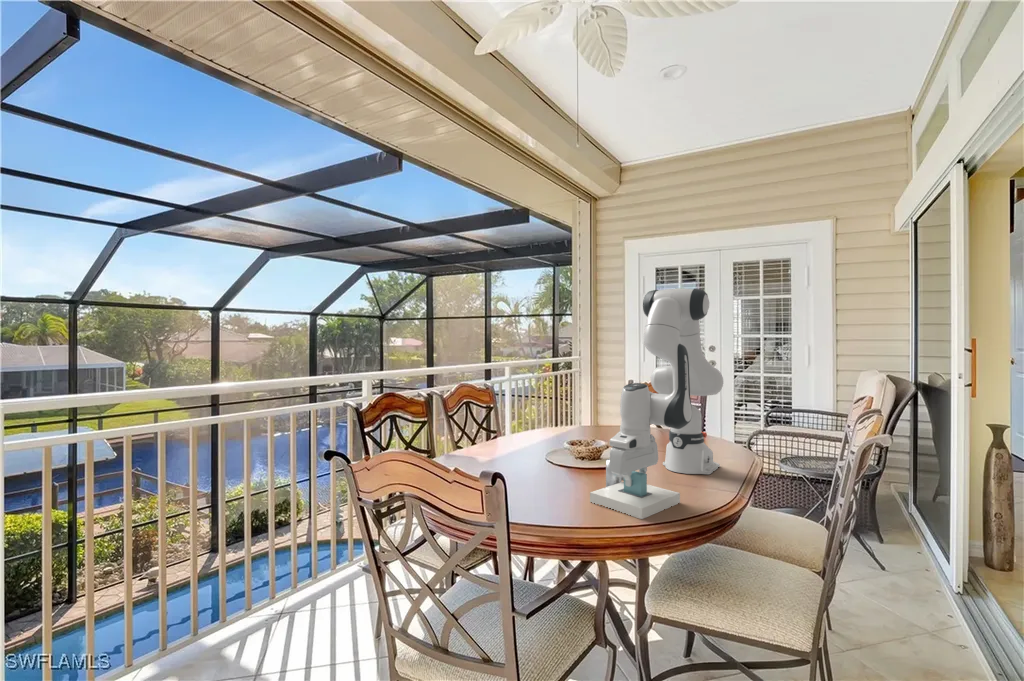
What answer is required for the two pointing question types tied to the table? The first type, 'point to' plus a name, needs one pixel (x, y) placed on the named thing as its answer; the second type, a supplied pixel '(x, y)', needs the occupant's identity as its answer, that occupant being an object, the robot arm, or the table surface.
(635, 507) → the socket plate
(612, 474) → the round peg
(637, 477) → the flat bar
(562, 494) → the table surface
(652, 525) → the table surface
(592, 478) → the table surface
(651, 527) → the table surface
